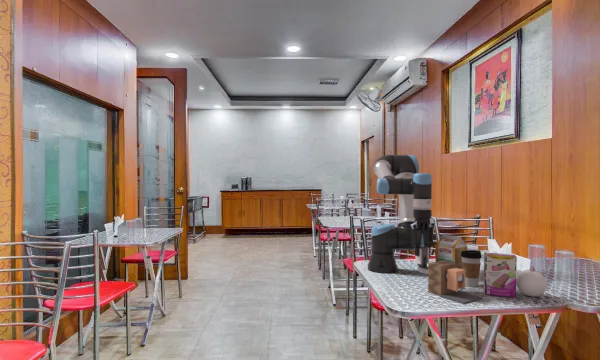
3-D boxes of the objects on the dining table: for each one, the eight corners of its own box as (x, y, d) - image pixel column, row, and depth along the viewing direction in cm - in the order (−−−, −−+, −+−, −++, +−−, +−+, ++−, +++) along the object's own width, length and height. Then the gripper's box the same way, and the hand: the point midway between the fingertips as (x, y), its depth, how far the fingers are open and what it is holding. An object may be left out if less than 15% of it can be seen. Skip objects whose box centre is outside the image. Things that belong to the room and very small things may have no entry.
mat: (440, 296, 143) (440, 295, 143) (459, 292, 149) (459, 290, 149) (463, 304, 134) (463, 302, 134) (482, 298, 140) (482, 297, 140)
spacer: (447, 288, 144) (447, 269, 144) (456, 286, 147) (456, 267, 147) (456, 291, 140) (456, 271, 140) (465, 289, 143) (465, 269, 143)
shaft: (415, 272, 158) (415, 246, 158) (421, 271, 160) (421, 245, 160) (458, 283, 140) (458, 254, 141) (465, 281, 142) (465, 253, 143)
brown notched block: (428, 292, 149) (428, 262, 149) (443, 288, 154) (443, 260, 154) (440, 296, 144) (440, 265, 144) (456, 292, 149) (456, 263, 149)
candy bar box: (485, 295, 145) (485, 254, 146) (483, 292, 150) (483, 252, 150) (517, 298, 142) (517, 256, 142) (514, 294, 146) (514, 253, 147)
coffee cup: (484, 288, 156) (484, 252, 156) (462, 286, 157) (463, 252, 158) (478, 283, 164) (478, 249, 164) (458, 281, 166) (458, 248, 166)
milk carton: (467, 275, 179) (467, 236, 179) (454, 277, 173) (454, 237, 173) (448, 270, 188) (448, 233, 188) (435, 273, 182) (435, 235, 182)
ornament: (547, 301, 138) (547, 269, 138) (515, 297, 144) (515, 266, 144) (546, 294, 147) (546, 265, 147) (516, 290, 152) (516, 262, 152)
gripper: (415, 209, 150) (415, 266, 150) (442, 208, 159) (442, 262, 159) (402, 208, 157) (401, 263, 156) (428, 207, 166) (428, 259, 165)
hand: (422, 262), depth 158 cm, fingers closed on shaft, 4 cm apart
